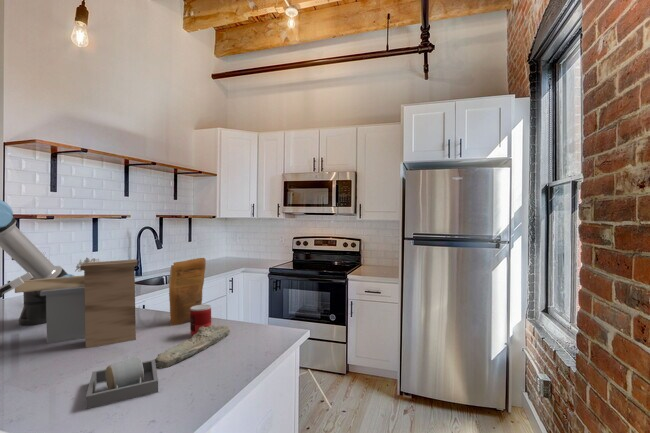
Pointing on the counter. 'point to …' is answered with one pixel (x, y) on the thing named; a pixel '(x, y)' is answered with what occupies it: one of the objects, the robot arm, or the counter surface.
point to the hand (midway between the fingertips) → (26, 277)
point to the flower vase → (85, 262)
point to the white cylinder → (125, 373)
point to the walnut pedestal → (109, 302)
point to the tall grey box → (65, 314)
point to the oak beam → (50, 284)
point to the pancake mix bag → (185, 288)
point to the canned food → (199, 317)
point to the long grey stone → (192, 345)
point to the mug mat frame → (121, 392)
